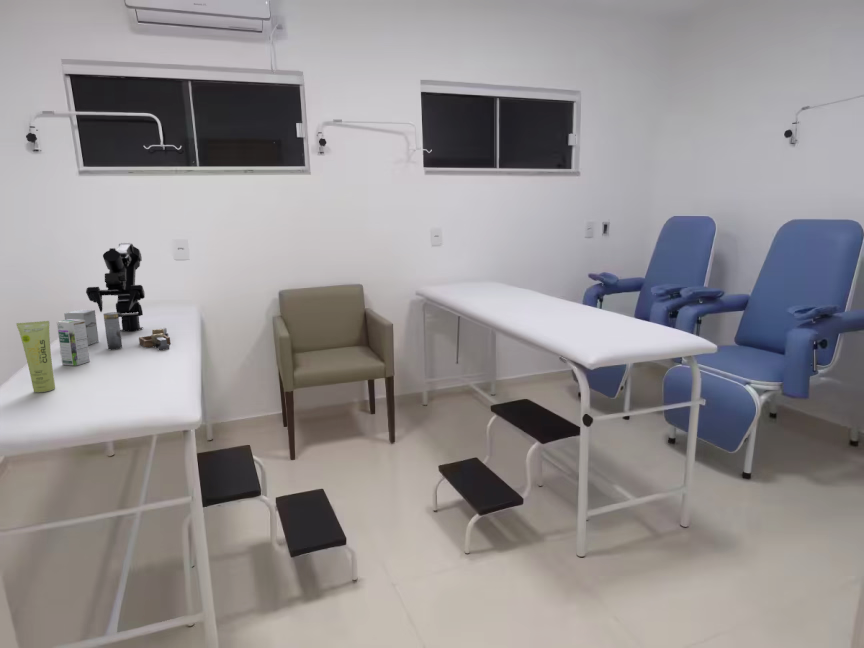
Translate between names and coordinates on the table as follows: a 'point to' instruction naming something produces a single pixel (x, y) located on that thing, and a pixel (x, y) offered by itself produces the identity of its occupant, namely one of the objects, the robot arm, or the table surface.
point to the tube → (38, 354)
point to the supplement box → (86, 323)
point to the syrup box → (73, 342)
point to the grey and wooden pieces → (159, 338)
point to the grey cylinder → (112, 330)
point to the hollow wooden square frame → (150, 340)
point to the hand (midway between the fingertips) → (114, 310)
